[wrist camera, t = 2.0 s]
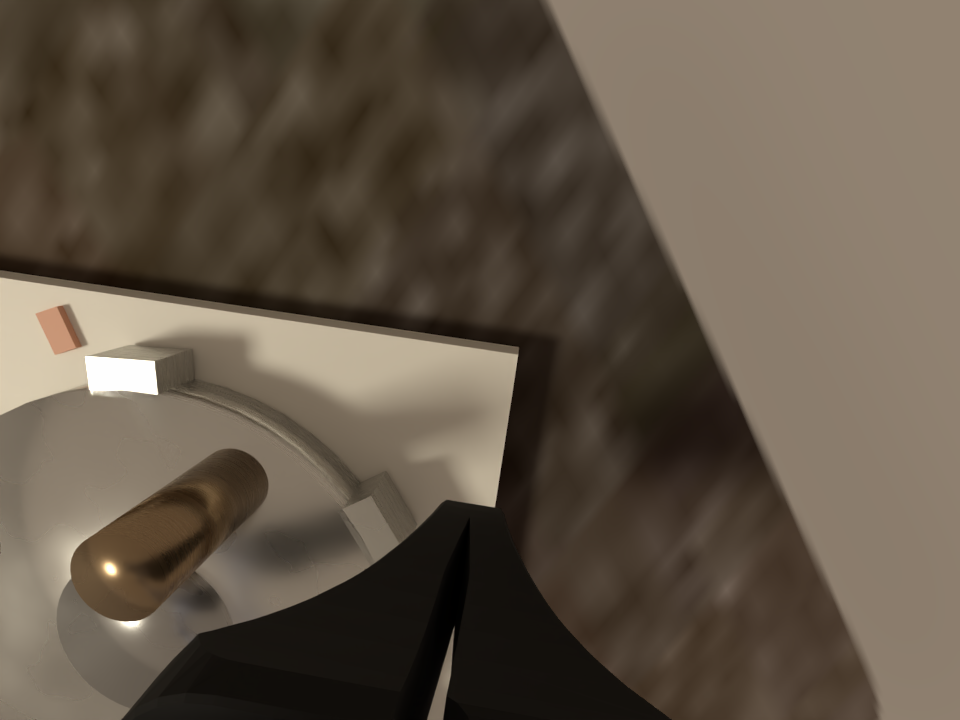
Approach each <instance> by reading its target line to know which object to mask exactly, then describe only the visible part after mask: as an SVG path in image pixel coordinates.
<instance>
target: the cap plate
mask: <svg viewBox="0 0 960 720" xmlns="http://www.w3.org/2000/svg"><path fill="white" fill-rule="evenodd" d="M127 345H142V346H157V347H172V348H188V349H192V355H193V367H194V379H196V380H200V381H203V382H207V383H211V384H215V385H219V386H222V387H226V388H229V389H231V390H234V391H236V392H239V393H241V394H244V395H246V396H249V397H251V398H254V399H256V400H258V401H260V402H262V403H264V404H266V405H267V406H269V407H271V408H273V409H275V410H277V411H278V412H280V413H282V414H284V415H286V416H287V417H289V418H290V419H292V420H293V421H294V422H296V423H297V424H299V425H300V426H301V427H303V428H304V429H306V430H307V431H308V432H310V433H311V434H313V435H314V436H315V437H316V438H317V439H319V440H320V441H321V442H322V443H323V444H324V445H325V446H326V447H327V448H329V449H330V450H331V451H332V452H333V453H334V454H335V455H336V456H337V457H338V458H339V459H340V460H341V461H342V462H343V463H344V464H345V466H346V467H347V468H348V469H349V470H350V471H351V472H352V474H353V475H354V476H355V477H356V478H357V479H358V480H359V482H360V483H361V482H363V481H365V480H367V479H369V478H372V477H374V476H376V475H378V474H380V473H382V472H385V471H387V473H388V474H389V476H390V478H391V479H392V481H393V483H394V485H395V486H396V488H397V490H398V492H399V493H400V495H401V497H402V498H403V500H404V502H405V504H406V505H407V507H408V509H409V511H410V512H411V514H412V516H413V517H414V519H415V521H416V523H417V526H416V529H417V528H418V527H419V526H420V525H421V524H422V523H423V522H424V521H425V520H426V519H427V518H428V517H429V516H430V515H431V514H432V513H433V512H434V511H435V510H436V509H437V507H438V506H439V505H440V504H441V503H442V502H444V501H445V500H452V501H458V502H464V503H471V504H477V505H483V506H489V507H495V503H496V497H497V490H498V484H499V477H500V471H501V464H502V458H503V451H504V445H505V438H506V432H507V425H508V419H509V412H510V406H511V399H512V393H513V386H514V380H515V373H516V367H517V360H518V353H519V347H515V346H508V345H502V344H495V343H488V342H481V341H475V340H468V339H461V338H454V337H448V336H441V335H434V334H427V333H421V332H414V331H407V330H400V329H394V328H387V327H380V326H373V325H367V324H360V323H353V322H346V321H340V320H333V319H326V318H319V317H313V316H306V315H299V314H292V313H286V312H279V311H272V310H265V309H259V308H252V307H245V306H238V305H232V304H225V303H218V302H211V301H205V300H198V299H191V298H184V297H178V296H171V295H164V294H157V293H151V292H144V291H137V290H130V289H124V288H117V287H110V286H103V285H97V284H90V283H83V282H76V281H70V280H63V279H56V278H49V277H43V276H36V275H29V274H22V273H16V272H9V271H2V270H0V415H2V414H4V413H6V412H8V411H10V410H12V409H15V408H17V407H19V406H21V405H23V404H25V403H28V402H31V401H34V400H37V399H40V398H43V397H46V396H49V395H52V394H55V393H58V392H61V391H64V390H67V389H70V388H73V387H76V386H80V385H83V384H87V383H89V381H88V373H87V365H86V356H89V355H93V354H97V353H101V352H104V351H108V350H112V349H115V348H119V347H123V346H127ZM416 529H415V530H416ZM453 638H454V629H453V632H452V636H451V639H450V643H449V646H448V650H447V653H446V657H445V660H444V664H443V667H442V670H441V674H440V677H439V681H438V684H437V687H436V691H435V694H434V698H433V701H432V705H431V708H430V711H429V715H428V718H427V720H443V716H444V709H445V702H446V695H447V691H448V686H449V681H450V676H451V665H452V651H453Z"/></svg>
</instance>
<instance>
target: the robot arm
mask: <svg viewBox="0 0 960 720" xmlns="http://www.w3.org/2000/svg"><path fill="white" fill-rule="evenodd" d="M453 629H454V638H453V651H452V665H451V676H450V681H449V686H448V691H447V695H446V702H445V709H444V716H443V720H671V719H670V718H669V717H667V716H666V715H665V714H663V713H662V712H661V711H659V710H658V709H657V708H655V707H654V706H652V705H651V704H650V703H648V702H647V701H646V700H644V699H643V698H642V697H640V696H639V695H638V694H636V693H635V692H634V691H632V690H631V689H630V688H628V687H627V686H626V685H625V684H623V683H622V682H621V681H620V680H619V679H618V678H616V677H615V676H614V675H613V674H612V673H611V672H610V671H609V670H607V669H606V668H605V667H604V666H603V665H602V664H601V663H599V662H598V661H597V660H596V659H595V658H594V657H593V656H592V655H591V654H590V653H589V652H588V651H587V650H586V649H585V648H584V647H583V646H582V645H581V644H580V642H579V641H578V640H577V639H576V638H575V637H574V636H573V635H572V634H571V633H570V632H569V631H568V629H567V628H566V627H565V626H564V625H563V624H562V622H561V621H560V620H559V619H558V617H557V616H556V615H555V613H554V612H553V611H552V609H551V608H550V607H549V605H548V604H547V602H546V601H545V599H544V598H543V596H542V595H541V593H540V592H539V590H538V588H537V587H536V585H535V583H534V582H533V580H532V578H531V577H530V575H529V573H528V571H527V569H526V567H525V565H524V563H523V561H522V559H521V557H520V555H519V553H518V551H517V549H516V547H515V544H514V542H513V540H512V537H511V535H510V532H509V529H508V526H507V523H506V519H505V514H504V513H503V511H502V510H501V509H500V508H495V507H489V506H483V505H477V504H471V503H464V502H458V501H452V500H445V501H444V502H442V503H441V504H440V505H439V506H438V507H437V509H436V510H435V511H434V512H433V513H432V514H431V515H430V516H429V517H428V518H427V519H426V520H425V521H424V522H423V523H422V524H421V525H420V526H419V527H418V528H417V529H416V530H415V531H414V532H412V533H411V534H410V535H409V536H408V537H407V538H406V539H405V540H404V541H402V542H401V543H400V544H399V545H398V546H396V547H395V548H394V549H392V550H391V551H390V552H389V553H387V554H386V555H385V556H383V557H382V558H381V559H380V560H378V561H377V562H375V563H374V564H373V565H371V566H370V567H368V568H367V569H365V570H364V571H362V572H361V573H359V574H357V575H356V576H354V577H352V578H351V579H349V580H347V581H345V582H343V583H341V584H339V585H337V586H335V587H333V588H331V589H329V590H327V591H325V592H323V593H321V594H319V595H317V596H315V597H313V598H310V599H308V600H306V601H303V602H301V603H298V604H296V605H293V606H291V607H288V608H285V609H282V610H280V611H277V612H274V613H271V614H268V615H265V616H262V617H259V618H256V619H253V620H249V621H245V622H242V623H238V624H234V625H230V626H227V627H223V628H219V629H215V630H212V631H207V632H203V633H199V634H197V635H196V636H195V638H194V639H193V640H192V641H191V642H190V643H189V644H188V645H187V646H186V647H185V648H184V649H183V650H182V651H181V652H180V653H179V654H178V655H177V656H176V657H174V659H173V660H172V661H171V662H170V663H169V664H168V665H167V666H166V667H165V669H164V670H163V671H162V672H161V673H160V674H159V675H158V677H157V678H156V679H155V680H154V681H153V683H152V684H151V685H150V686H149V687H148V688H147V690H146V691H145V692H144V693H143V694H142V696H141V697H140V698H139V699H138V700H137V702H136V703H135V704H134V705H133V706H132V708H131V709H130V710H129V711H128V712H127V714H126V715H125V716H124V717H123V718H122V720H427V718H428V715H429V711H430V708H431V705H432V701H433V698H434V694H435V691H436V687H437V684H438V681H439V677H440V674H441V670H442V667H443V664H444V660H445V657H446V653H447V650H448V646H449V643H450V639H451V636H452V632H453Z"/></svg>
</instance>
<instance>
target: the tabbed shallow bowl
mask: <svg viewBox="0 0 960 720" xmlns="http://www.w3.org/2000/svg"><path fill="white" fill-rule="evenodd" d="M86 365H87V373H88V381H89V383H87V384H83V385H80V386H76V387H73V388H70V389H67V390H64V391H61V392H58V393H55V394H52V395H49V396H46V397H43V398H40V399H37V400H34V401H31V402H28V403H25V404H23V405H21V406H19V407H17V408H15V409H12V410H10V411H8V412H6V413H4V414H2V415H0V720H122V718H123V717H124V716H125V715H126V714H127V712H128V711H129V710H130V709H131V708H132V706H133V705H134V704H135V703H136V702H137V700H138V699H139V698H140V697H141V696H142V694H143V693H144V692H145V691H146V690H147V688H148V687H149V686H150V685H151V684H152V683H153V681H154V680H155V679H156V678H157V677H158V675H159V674H160V673H161V672H162V671H163V670H164V669H165V667H166V666H167V665H168V664H169V663H170V662H171V661H172V660H173V659H174V657H176V656H177V655H178V654H179V653H180V652H181V651H182V650H183V649H184V648H185V647H186V646H187V645H188V644H189V643H190V642H191V641H192V640H193V639H194V638H195V636H196V635H197V634H199V633H203V632H207V631H212V630H215V629H219V628H223V627H227V626H230V625H234V624H238V623H242V622H245V621H249V620H253V619H256V618H259V617H262V616H265V615H268V614H271V613H274V612H277V611H280V610H282V609H285V608H288V607H291V606H293V605H296V604H298V603H301V602H303V601H306V600H308V599H310V598H313V597H315V596H317V595H319V594H321V593H323V592H325V591H327V590H329V589H331V588H333V587H335V586H337V585H339V584H341V583H343V582H345V581H347V580H349V579H351V578H352V577H354V576H356V575H357V574H359V573H361V572H362V571H364V570H365V569H367V568H368V567H370V566H371V565H373V564H374V563H375V562H377V561H378V560H380V559H381V558H382V557H383V556H385V555H386V554H387V553H389V552H390V551H391V550H392V549H394V548H395V547H396V546H398V545H399V544H400V543H401V542H402V541H404V540H405V539H406V538H407V537H408V536H409V535H410V534H411V533H412V532H414V531H415V529H416V526H417V523H416V521H415V519H414V517H413V516H412V514H411V512H410V511H409V509H408V507H407V505H406V504H405V502H404V500H403V498H402V497H401V495H400V493H399V492H398V490H397V488H396V486H395V485H394V483H393V481H392V479H391V478H390V476H389V474H388V473H387V471H385V472H382V473H380V474H378V475H376V476H374V477H372V478H369V479H367V480H365V481H363V482H361V483H360V482H359V480H358V479H357V478H356V477H355V476H354V475H353V474H352V472H351V471H350V470H349V469H348V468H347V467H346V466H345V464H344V463H343V462H342V461H341V460H340V459H339V458H338V457H337V456H336V455H335V454H334V453H333V452H332V451H331V450H330V449H329V448H327V447H326V446H325V445H324V444H323V443H322V442H321V441H320V440H319V439H317V438H316V437H315V436H314V435H313V434H311V433H310V432H308V431H307V430H306V429H304V428H303V427H301V426H300V425H299V424H297V423H296V422H294V421H293V420H292V419H290V418H289V417H287V416H286V415H284V414H282V413H280V412H278V411H277V410H275V409H273V408H271V407H269V406H267V405H266V404H264V403H262V402H260V401H258V400H256V399H254V398H251V397H249V396H246V395H244V394H241V393H239V392H236V391H234V390H231V389H229V388H226V387H222V386H219V385H215V384H211V383H207V382H203V381H200V380H196V379H194V367H193V355H192V349H188V348H172V347H157V346H142V345H127V346H123V347H119V348H115V349H112V350H108V351H104V352H101V353H97V354H93V355H89V356H86Z"/></svg>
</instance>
